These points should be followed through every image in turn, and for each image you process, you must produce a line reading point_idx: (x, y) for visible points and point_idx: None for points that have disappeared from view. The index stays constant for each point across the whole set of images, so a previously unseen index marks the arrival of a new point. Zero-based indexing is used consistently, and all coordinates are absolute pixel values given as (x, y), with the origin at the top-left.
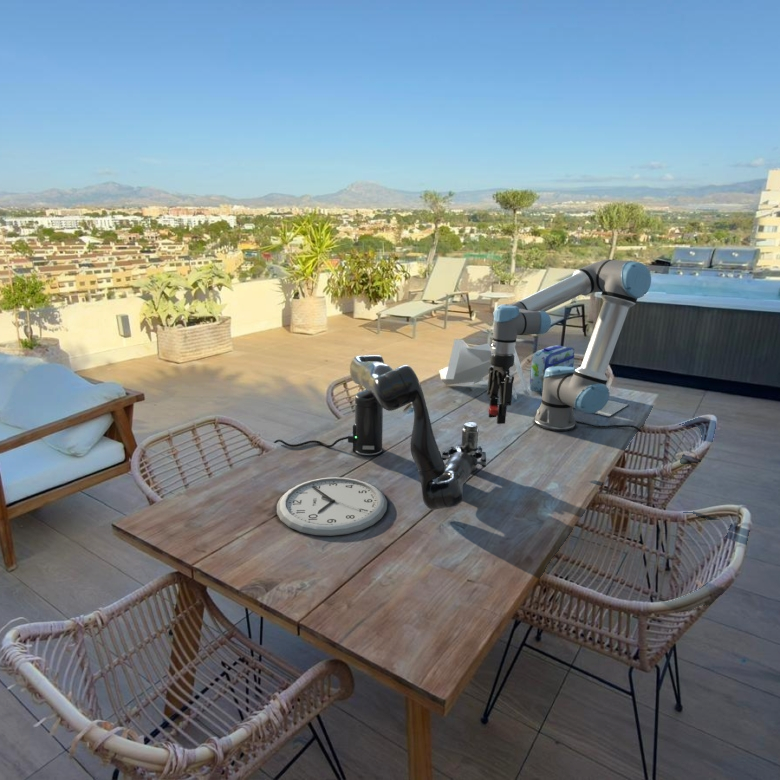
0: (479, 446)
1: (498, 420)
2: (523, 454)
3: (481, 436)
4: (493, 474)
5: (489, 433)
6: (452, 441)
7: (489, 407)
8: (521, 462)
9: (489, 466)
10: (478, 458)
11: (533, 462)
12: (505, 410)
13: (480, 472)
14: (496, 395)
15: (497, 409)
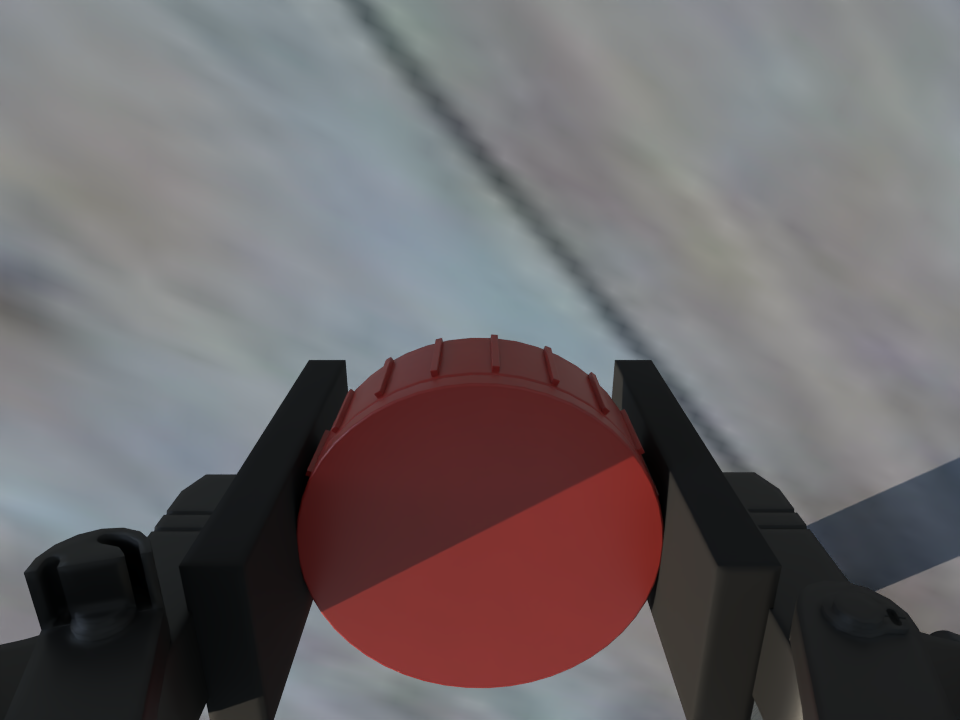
0: None
1: None
2: (669, 37)
3: (147, 261)
4: (903, 483)
5: (62, 138)
6: None
7: (435, 682)
8: (821, 160)
9: (775, 457)
10: None
11: (873, 34)
12: (810, 554)
13: (833, 550)
14: (160, 684)
15: (586, 600)
